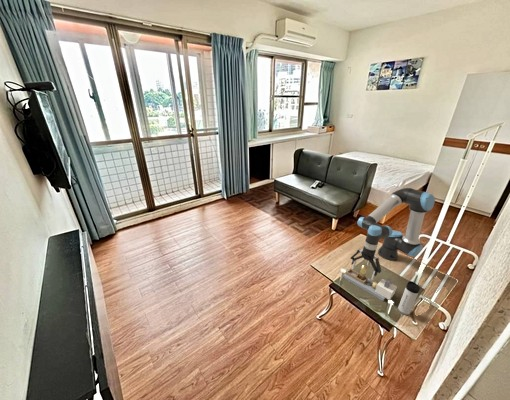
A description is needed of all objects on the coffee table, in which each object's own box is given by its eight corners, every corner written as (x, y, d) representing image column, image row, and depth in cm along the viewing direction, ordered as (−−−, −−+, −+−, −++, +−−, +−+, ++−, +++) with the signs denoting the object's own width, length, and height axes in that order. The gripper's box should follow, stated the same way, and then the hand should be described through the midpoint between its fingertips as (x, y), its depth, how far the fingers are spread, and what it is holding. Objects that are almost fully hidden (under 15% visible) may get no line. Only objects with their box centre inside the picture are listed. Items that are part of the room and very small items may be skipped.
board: (350, 270, 166) (351, 264, 164) (389, 292, 147) (392, 285, 145) (342, 277, 159) (344, 270, 157) (383, 301, 139) (385, 293, 137)
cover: (380, 285, 150) (383, 274, 146) (394, 293, 143) (398, 281, 140) (374, 291, 144) (378, 279, 140) (389, 300, 137) (393, 287, 134)
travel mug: (406, 307, 135) (417, 282, 128) (411, 316, 129) (422, 289, 122) (395, 305, 136) (405, 279, 130) (400, 314, 130) (410, 287, 123)
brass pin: (359, 277, 157) (363, 263, 153) (364, 280, 154) (368, 266, 150) (357, 279, 155) (361, 265, 150) (362, 282, 152) (366, 268, 148)
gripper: (349, 241, 152) (343, 266, 159) (388, 258, 134) (379, 286, 142) (354, 238, 156) (348, 262, 164) (392, 254, 139) (383, 281, 146)
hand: (362, 273), depth 153 cm, fingers open, 13 cm apart
